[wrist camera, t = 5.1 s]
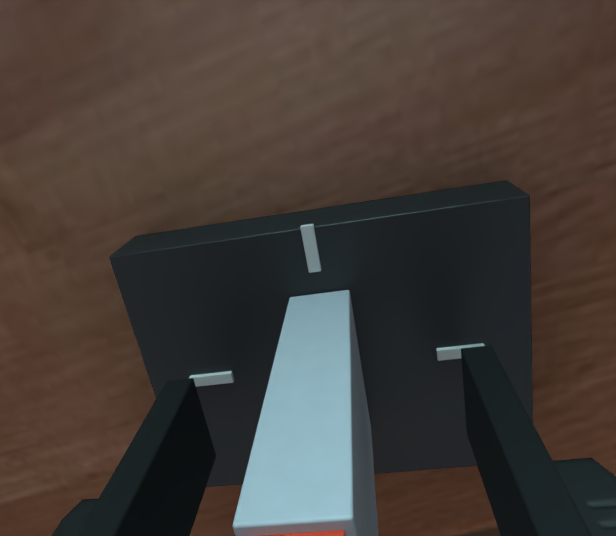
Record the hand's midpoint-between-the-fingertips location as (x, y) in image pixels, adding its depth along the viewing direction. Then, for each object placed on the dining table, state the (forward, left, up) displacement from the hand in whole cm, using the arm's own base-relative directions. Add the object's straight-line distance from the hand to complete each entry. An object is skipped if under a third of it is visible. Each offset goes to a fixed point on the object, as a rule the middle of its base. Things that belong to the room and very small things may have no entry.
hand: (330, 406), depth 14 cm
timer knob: (0, 0, -2) cm, 2 cm away
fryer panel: (0, 0, -4) cm, 4 cm away
